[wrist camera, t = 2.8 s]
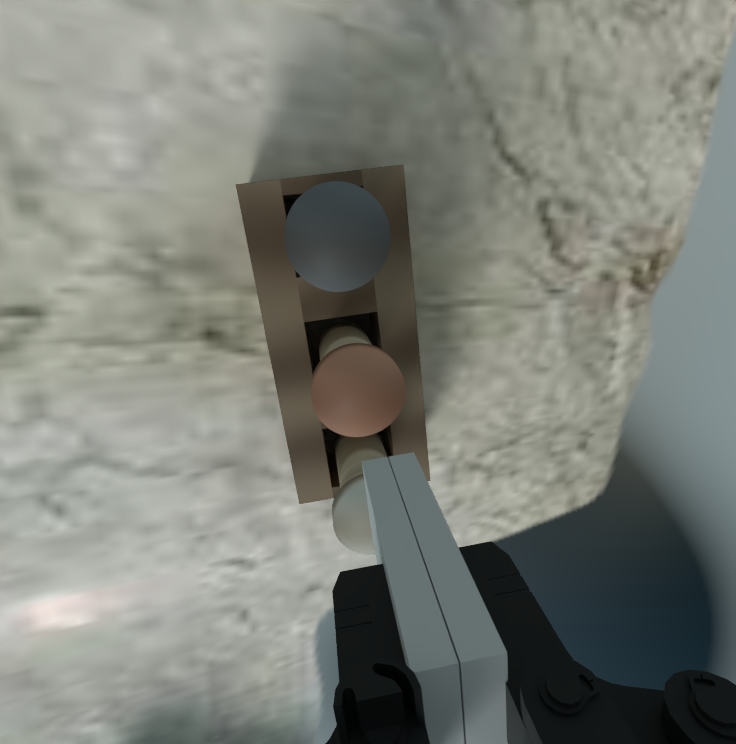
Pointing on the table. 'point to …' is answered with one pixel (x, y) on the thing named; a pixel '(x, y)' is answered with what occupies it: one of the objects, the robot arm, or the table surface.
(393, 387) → the plug terracotta
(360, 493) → the plug cream
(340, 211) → the plug charcoal
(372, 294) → the socket block
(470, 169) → the table surface
